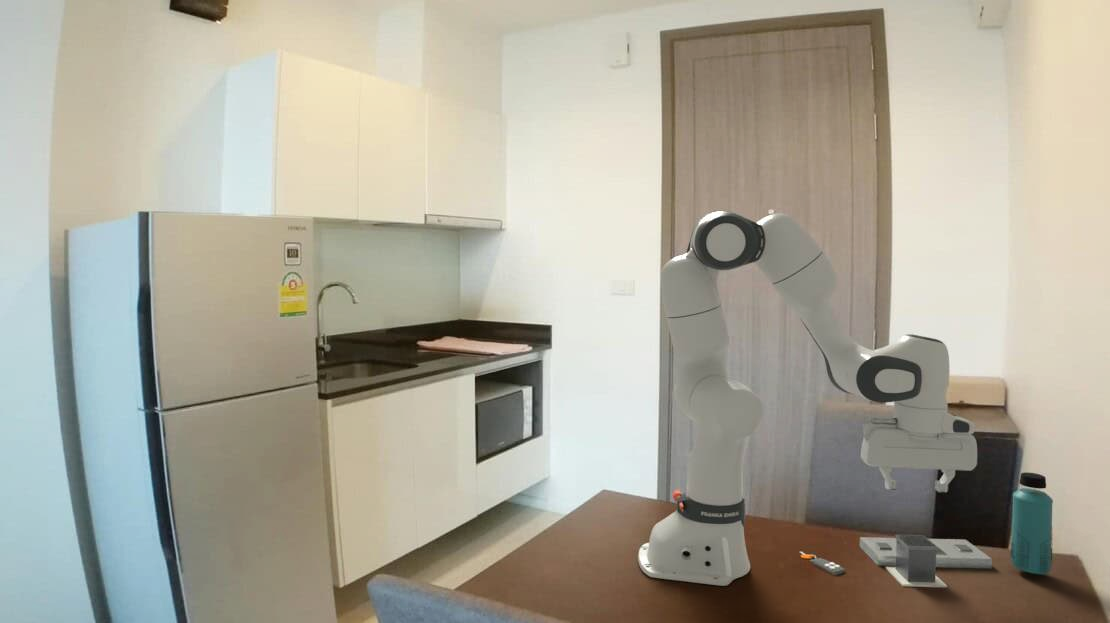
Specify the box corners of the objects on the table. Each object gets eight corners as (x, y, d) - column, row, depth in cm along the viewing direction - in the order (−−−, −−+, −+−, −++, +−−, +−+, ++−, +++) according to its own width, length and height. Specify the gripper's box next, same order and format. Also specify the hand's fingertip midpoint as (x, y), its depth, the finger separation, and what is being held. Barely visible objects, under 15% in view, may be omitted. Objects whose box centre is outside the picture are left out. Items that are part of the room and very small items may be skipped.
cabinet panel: (877, 565, 126) (878, 554, 126) (859, 546, 135) (859, 535, 135) (991, 568, 125) (991, 557, 124) (965, 548, 134) (965, 538, 133)
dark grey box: (907, 582, 119) (908, 546, 118) (894, 568, 124) (894, 534, 123) (936, 583, 118) (937, 547, 118) (922, 569, 124) (923, 535, 123)
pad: (902, 586, 118) (902, 584, 118) (885, 568, 125) (885, 566, 125) (946, 587, 117) (946, 585, 117) (927, 569, 124) (927, 567, 124)
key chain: (847, 574, 124) (847, 566, 124) (834, 578, 122) (834, 570, 122) (794, 548, 135) (794, 541, 135) (782, 552, 134) (782, 545, 134)
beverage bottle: (1058, 583, 118) (1063, 480, 117) (1019, 580, 120) (1023, 478, 118) (1039, 567, 125) (1043, 470, 123) (1002, 565, 126) (1006, 468, 125)
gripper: (870, 421, 117) (867, 493, 118) (984, 425, 115) (980, 498, 116) (857, 413, 123) (853, 482, 124) (964, 417, 122) (960, 486, 122)
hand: (915, 490), depth 120 cm, fingers open, 8 cm apart
